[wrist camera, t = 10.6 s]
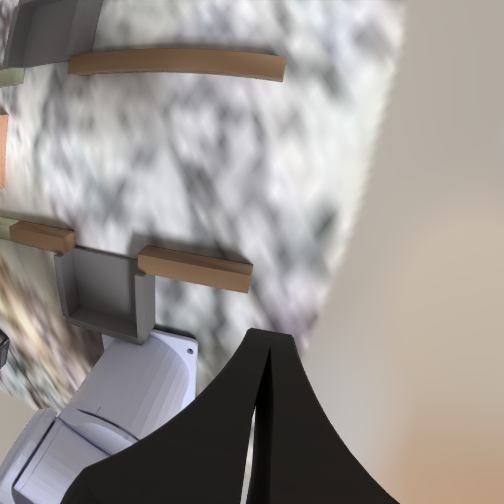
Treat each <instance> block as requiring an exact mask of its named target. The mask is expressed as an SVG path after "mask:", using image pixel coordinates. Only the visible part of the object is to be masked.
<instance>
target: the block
mask: <svg viewBox="0 0 504 504" xmlns="http://www.w3.org/2000/svg"><path fill="white" fill-rule="evenodd" d="M7 125H8V115H0V189H1V188H4V187H5V155H6V137H7Z"/></svg>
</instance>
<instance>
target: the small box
mask: <svg viewBox="0 0 504 504" xmlns="http://www.w3.org/2000/svg"><path fill="white" fill-rule="evenodd" d="M8 347H9V338H8V337H7V336H6V335H5V334H4V333H3V332H2V331H1V330H0V369H1V368H2V367H3V366H4V365H5V364H6V359H7V353H8Z"/></svg>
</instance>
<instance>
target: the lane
mask: <svg viewBox="0 0 504 504" xmlns="http://www.w3.org/2000/svg"><path fill="white" fill-rule="evenodd" d="M285 64H286V59H285V57H282V56H275V55H267V54H259V53H250V52H240V51H228V50H212V49H181V48H164V49H133V50H118V51H106V52H96V53H88V54H80V55H73V56H70V62H69V69H68V74H74V75H92V74H106V73H129V72H176V73H199V74H214V75H226V76H237V77H246V78H255V79H263V80H270V81H277V82H283V76H284V70H285ZM24 71H25V68H13V67H11V68H8V69H4V70H0V88H1V87H6V86H11V85H16V84H21V83H23V78H24ZM0 238H2V239H5V240H9V241H13V242H16V243H20V244H24V245H28V246H32V247H36V248H40V249H44V250H48V251H52V252H56V253H60V254H66V253H67V252H69V251H70V250H72V249H73V248H75V247H76V245H75V231H70V230H65V229H60V228H55V227H50V226H45V225H40V224H35V223H30V222H25V221H20V220H15V219H10V218H5V217H0ZM252 270H253V265H251V264H245V263H240V262H234V261H228V260H223V259H217V258H212V257H207V256H201V255H196V254H190V253H185V252H179V251H174V250H169V249H163V248H158V247H153V246H146V247H145V248H144V249H143V250H142V251H141V252H140V253H139V254H138V272H142V273H147V274H151V275H156V276H161V277H166V278H170V279H175V280H180V281H185V282H190V283H195V284H200V285H205V286H210V287H216V288H221V289H226V290H231V291H237V292H242V293H248V290H249V286H250V282H251V276H252Z"/></svg>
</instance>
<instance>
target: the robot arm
mask: <svg viewBox="0 0 504 504" xmlns="http://www.w3.org/2000/svg"><path fill="white" fill-rule="evenodd" d="M102 339H103V346H104V353H103V354H102V356H101V357H100V359H99V360H98V361H97V363H96V364H95V366H94V367H93V368H92V370H91V371H90V373H89V374H88V376H87V377H86V378H85V380H84V381H83V383H82V384H81V386H80V387H79V388H78V390H77V391H76V393H75V394H74V396H73V397H72V399H71V400H70V402H69V403H68V404H67V405H66V406H65V408H64V409H63V410H62V412H61V413H60V414H59V416H58V417H57V418H56V417H55V416H56V415H57V412H56V411H54V410H53V409H52V408H48V409H47V410H46V409H39V410H38V411H37V412H36V413H35V415H34V416H33V417H32V419H31V420H30V421H29V423H28V424H27V425H26V427H25V428H24V430H23V431H22V433H21V434H20V435H19V437H18V438H17V440H16V441H15V443H14V444H13V446H12V448H11V449H10V451H9V452H8V454H7V456H6V457H5V459H4V461H3V463H2V464H1V466H0V504H240V502H241V494H242V487H243V480H244V473H245V466H246V458H247V451H248V444H249V437H250V430H251V424H252V417H253V413H254V410H255V406H256V410H255V427H254V443H253V459H252V470H251V478H250V483H249V489H248V494H247V500H246V504H400V503H398V502H397V501H396V500H395V499H394V498H392V497H391V496H390V495H389V494H388V493H387V492H386V491H385V490H384V489H383V488H382V487H381V486H380V485H379V484H378V483H377V482H376V481H375V480H374V479H373V478H372V477H371V476H370V475H369V473H368V472H367V471H366V470H365V469H364V468H363V466H362V465H361V464H360V463H359V462H358V460H357V459H356V458H355V457H354V456H353V455H352V453H351V452H350V451H349V449H348V448H347V446H346V445H345V444H344V442H343V441H342V440H341V438H340V437H339V435H338V434H337V432H336V431H335V429H334V427H333V426H332V424H331V423H330V421H329V420H328V418H327V416H326V414H325V413H324V411H323V409H322V407H321V405H320V403H319V401H318V400H317V397H316V395H315V393H314V391H313V389H312V387H311V385H310V382H309V380H308V378H307V376H306V374H305V371H304V368H303V366H302V363H301V360H300V358H299V355H298V352H297V348H296V345H295V341H294V338H293V337H292V335H289V334H283V333H277V332H272V331H266V330H261V329H255V328H250V329H248V330H247V332H246V335H245V337H244V339H243V341H242V342H241V344H240V346H239V347H238V349H237V350H236V352H235V353H234V355H233V356H232V358H231V359H230V360H229V362H228V363H227V364H226V365H225V367H224V368H223V369H222V371H221V372H220V373H219V374H218V375H217V376H216V377H215V379H214V380H213V381H212V382H211V383H210V384H209V385H208V386H207V387H206V388H205V389H204V390H203V391H202V392H201V393H200V394H199V395H198V396H197V397H196V398H195V392H196V372H197V355H198V342H197V341H196V340H195V339H192V338H188V337H184V336H180V335H175V334H171V333H167V332H163V331H159V330H155V329H152V331H151V332H150V334H149V336H148V337H147V339H146V340H145V342H144V343H143V345H138V344H134V343H131V342H127V341H124V340H120V339H117V338H114V337H110V336H107V335H104V334H102ZM189 349H192V350H193V351H191V350H189Z"/></svg>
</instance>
